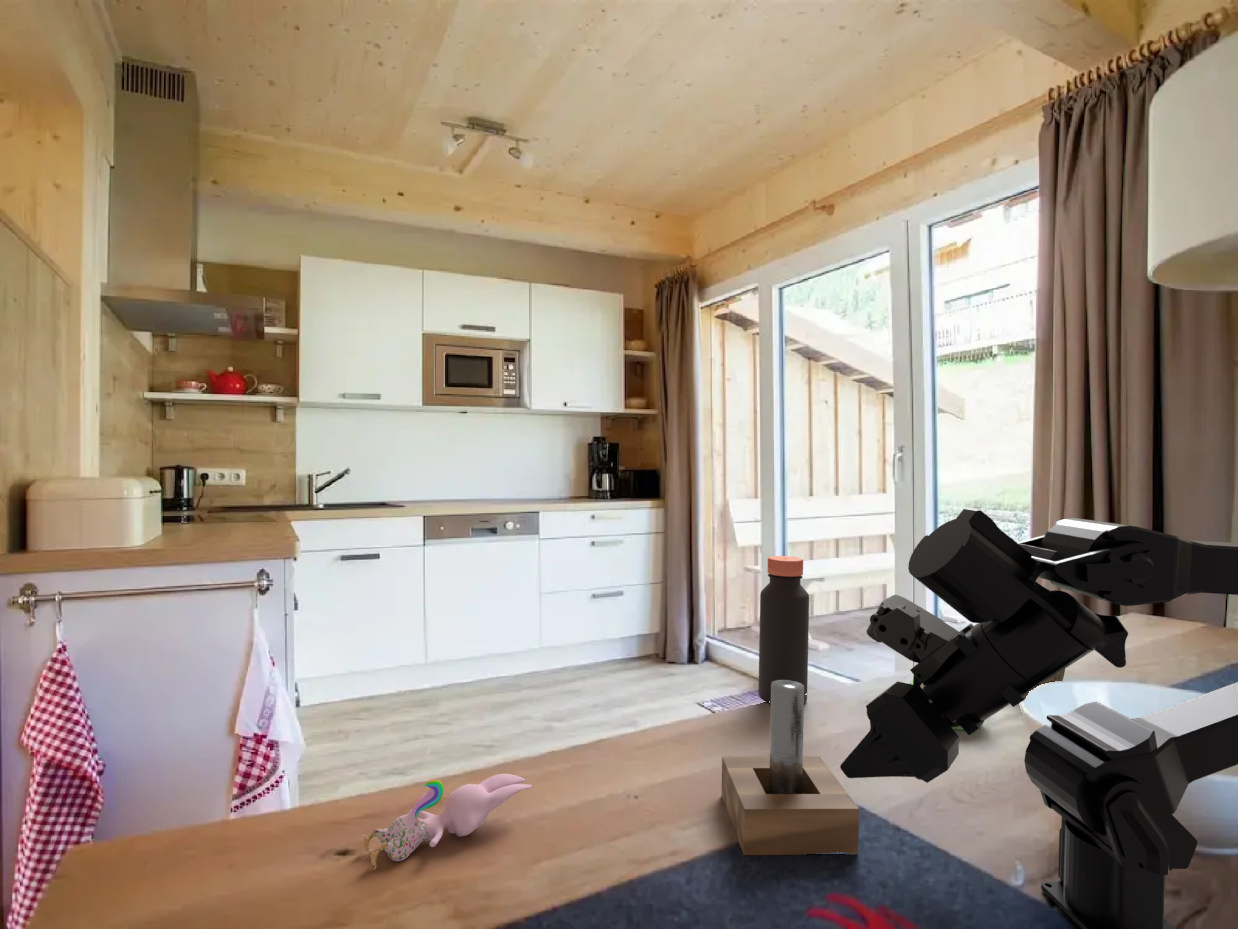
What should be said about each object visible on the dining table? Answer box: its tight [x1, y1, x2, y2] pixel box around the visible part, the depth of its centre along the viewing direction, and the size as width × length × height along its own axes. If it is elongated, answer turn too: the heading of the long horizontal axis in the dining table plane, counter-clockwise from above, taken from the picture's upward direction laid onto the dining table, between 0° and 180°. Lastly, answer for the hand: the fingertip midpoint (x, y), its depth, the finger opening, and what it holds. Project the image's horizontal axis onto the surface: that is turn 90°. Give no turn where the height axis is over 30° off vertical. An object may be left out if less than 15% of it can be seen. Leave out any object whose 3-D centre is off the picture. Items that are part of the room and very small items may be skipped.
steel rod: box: [769, 680, 805, 794], centre depth 62 cm, size 3×3×13 cm
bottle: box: [757, 555, 810, 705], centre depth 95 cm, size 7×7×20 cm
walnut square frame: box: [720, 755, 860, 856], centre depth 63 cm, size 10×10×4 cm
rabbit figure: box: [361, 773, 532, 871], centre depth 60 cm, size 6×6×15 cm
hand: (863, 753), depth 58 cm, fingers open, 9 cm apart
